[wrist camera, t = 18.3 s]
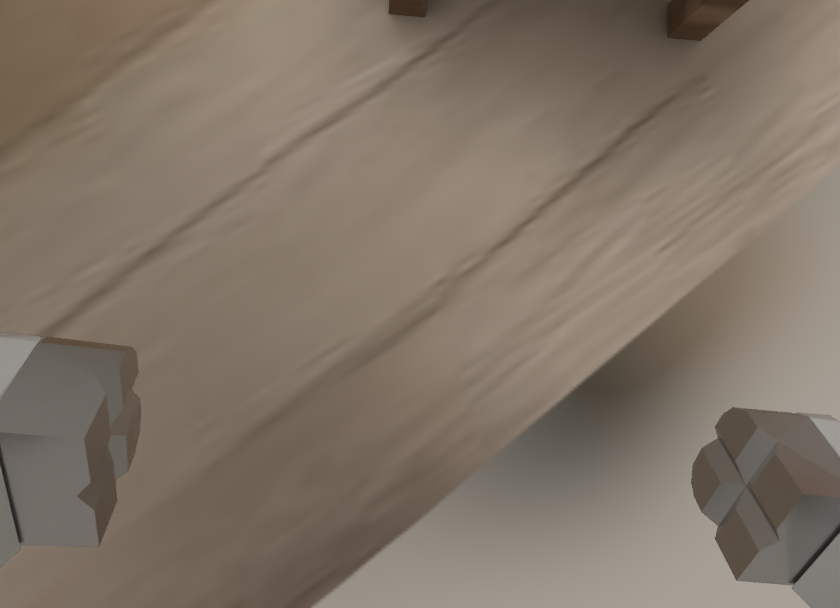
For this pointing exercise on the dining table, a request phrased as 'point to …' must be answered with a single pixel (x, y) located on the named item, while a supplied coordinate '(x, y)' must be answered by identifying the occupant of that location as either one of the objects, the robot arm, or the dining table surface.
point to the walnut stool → (687, 17)
